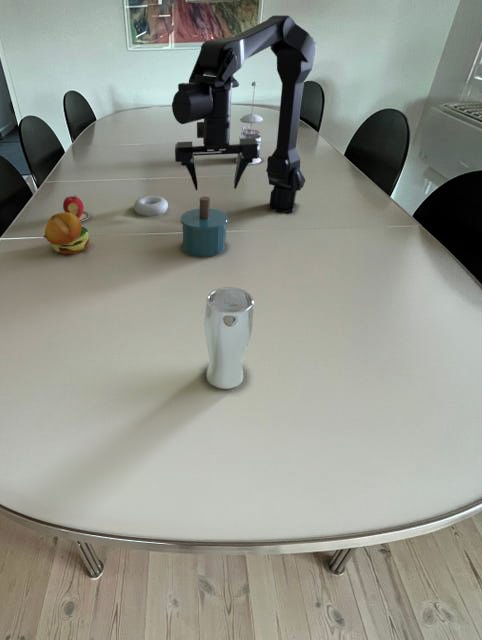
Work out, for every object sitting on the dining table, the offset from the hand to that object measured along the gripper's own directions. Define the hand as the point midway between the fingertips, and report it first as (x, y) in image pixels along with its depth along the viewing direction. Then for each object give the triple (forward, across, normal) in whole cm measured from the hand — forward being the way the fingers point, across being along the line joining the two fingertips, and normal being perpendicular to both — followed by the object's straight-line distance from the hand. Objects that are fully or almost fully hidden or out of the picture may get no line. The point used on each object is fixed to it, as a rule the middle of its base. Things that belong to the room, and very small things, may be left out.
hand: (215, 189), depth 97 cm
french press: (+14, -16, -65) cm, 68 cm away
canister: (+12, +3, +6) cm, 14 cm away
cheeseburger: (+12, +37, +5) cm, 39 cm away
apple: (+12, +39, -14) cm, 44 cm away
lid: (+5, +3, +6) cm, 8 cm away
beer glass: (+12, +1, +52) cm, 54 cm away
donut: (+12, +18, -18) cm, 28 cm away
